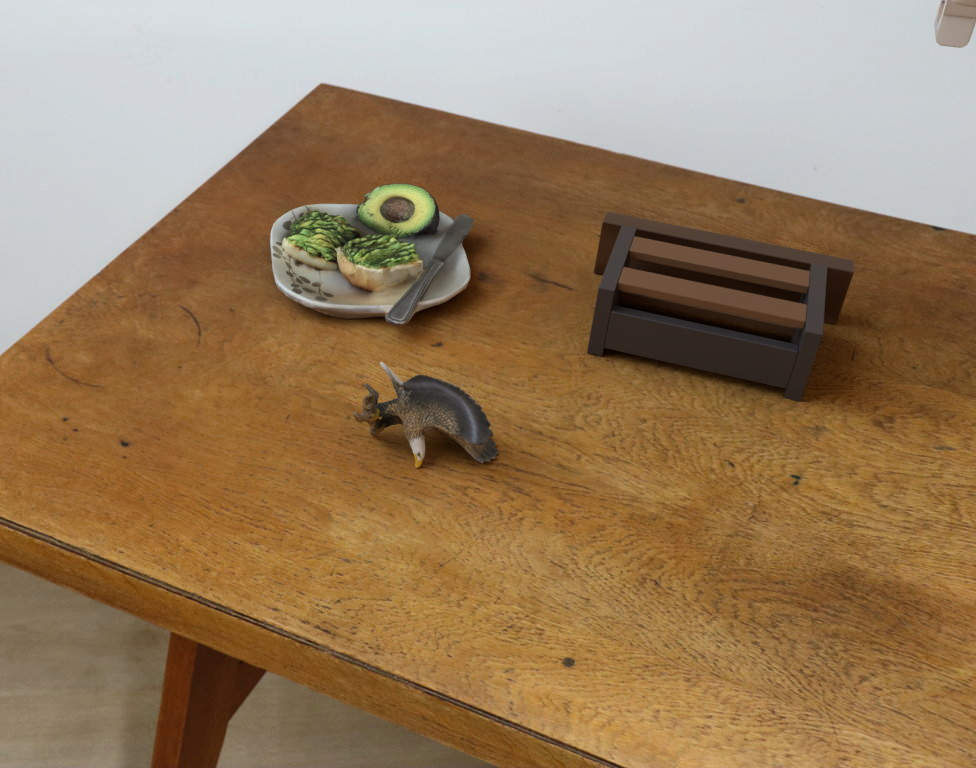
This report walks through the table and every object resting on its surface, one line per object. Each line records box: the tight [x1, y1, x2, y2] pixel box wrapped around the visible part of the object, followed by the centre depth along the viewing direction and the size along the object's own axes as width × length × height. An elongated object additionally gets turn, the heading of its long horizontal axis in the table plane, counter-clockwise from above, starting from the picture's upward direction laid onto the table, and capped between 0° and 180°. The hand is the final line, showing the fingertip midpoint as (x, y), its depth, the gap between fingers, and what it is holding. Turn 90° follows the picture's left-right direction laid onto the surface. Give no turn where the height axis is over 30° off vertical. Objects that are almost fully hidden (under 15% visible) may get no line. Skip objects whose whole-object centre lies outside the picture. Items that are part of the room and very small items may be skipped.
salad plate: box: [268, 183, 474, 327], centre depth 91 cm, size 19×18×5 cm
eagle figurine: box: [352, 361, 500, 469], centre depth 74 cm, size 8×7×9 cm
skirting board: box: [593, 211, 855, 325], centre depth 92 cm, size 2×20×5 cm, turn 71°
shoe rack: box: [586, 226, 827, 402], centre depth 85 cm, size 10×16×6 cm, turn 71°
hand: (949, 38), depth 64 cm, fingers closed
